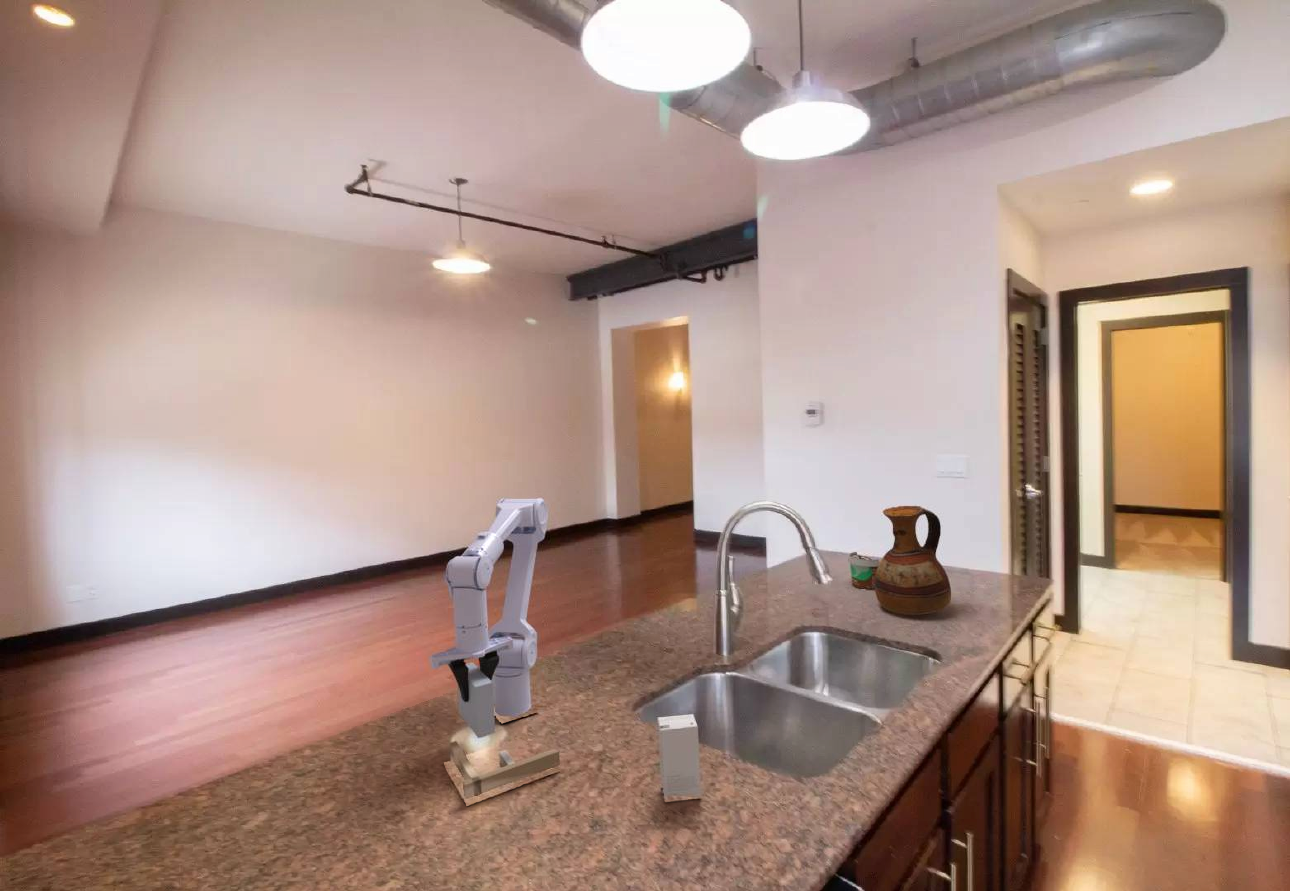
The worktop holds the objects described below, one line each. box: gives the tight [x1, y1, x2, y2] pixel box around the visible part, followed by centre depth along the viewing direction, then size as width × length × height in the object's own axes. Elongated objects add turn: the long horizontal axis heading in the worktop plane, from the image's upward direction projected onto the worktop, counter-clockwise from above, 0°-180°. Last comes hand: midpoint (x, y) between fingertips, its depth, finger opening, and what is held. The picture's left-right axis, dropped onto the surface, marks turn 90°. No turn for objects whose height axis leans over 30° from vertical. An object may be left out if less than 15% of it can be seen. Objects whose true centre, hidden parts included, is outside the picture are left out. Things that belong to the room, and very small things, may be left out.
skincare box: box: [656, 713, 702, 798], centre depth 99 cm, size 6×4×12 cm
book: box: [457, 661, 496, 739], centre depth 113 cm, size 11×3×9 cm, turn 33°
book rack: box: [448, 740, 561, 799], centre depth 108 cm, size 14×16×4 cm
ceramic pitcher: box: [874, 505, 952, 615], centre depth 178 cm, size 20×20×30 cm
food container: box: [847, 551, 880, 591], centre depth 201 cm, size 12×6×10 cm, turn 17°
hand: (475, 697), depth 112 cm, fingers closed on book, 3 cm apart
